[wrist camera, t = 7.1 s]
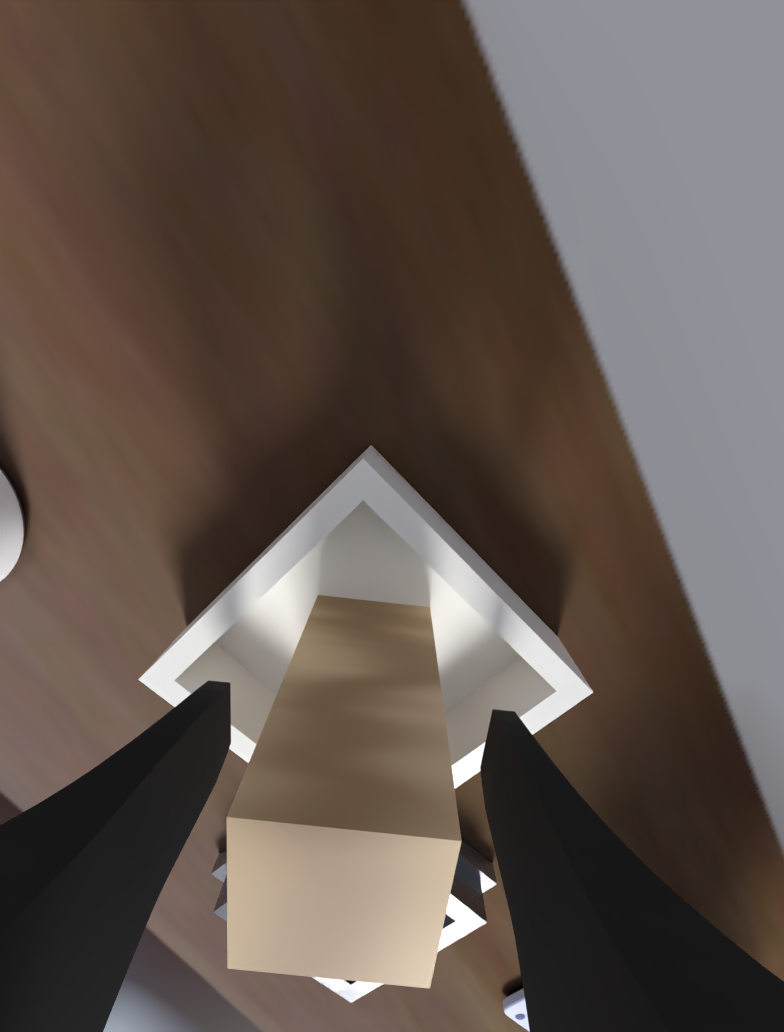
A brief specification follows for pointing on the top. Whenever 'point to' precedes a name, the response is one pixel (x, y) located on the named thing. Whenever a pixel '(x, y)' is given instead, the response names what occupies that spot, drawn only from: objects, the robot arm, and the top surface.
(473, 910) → the stud socket
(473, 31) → the top surface
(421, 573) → the bin tray
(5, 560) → the can
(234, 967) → the peg
